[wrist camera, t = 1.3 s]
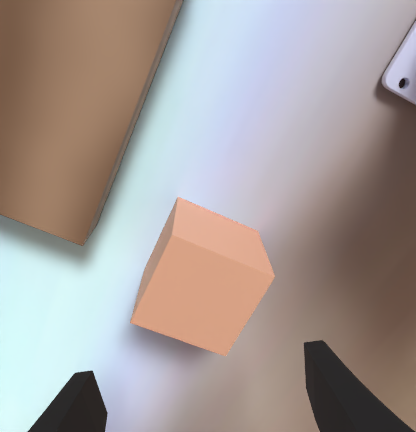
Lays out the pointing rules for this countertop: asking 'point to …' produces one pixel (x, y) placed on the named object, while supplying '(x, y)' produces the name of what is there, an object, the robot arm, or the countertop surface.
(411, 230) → the countertop surface
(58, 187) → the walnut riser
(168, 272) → the terracotta cube
